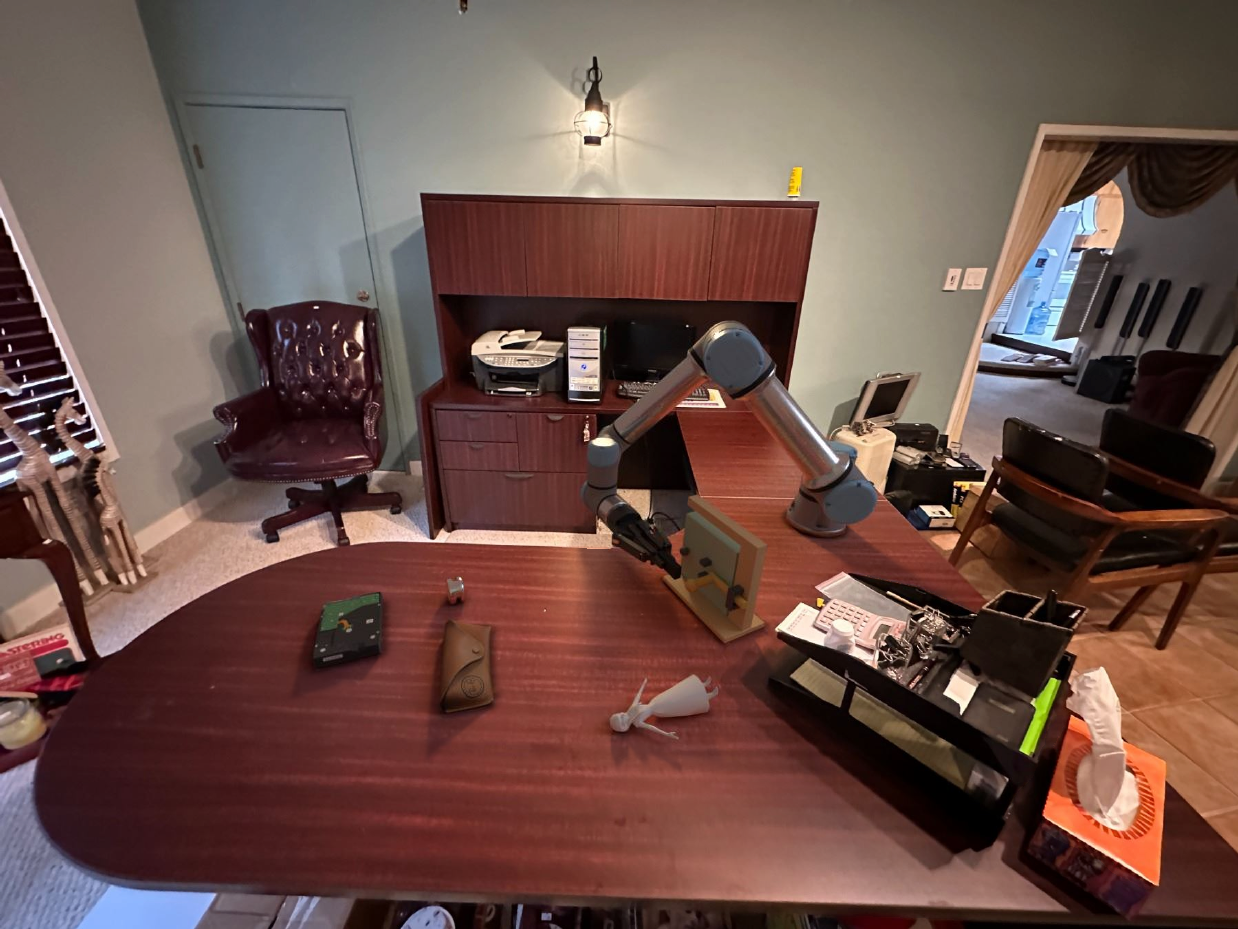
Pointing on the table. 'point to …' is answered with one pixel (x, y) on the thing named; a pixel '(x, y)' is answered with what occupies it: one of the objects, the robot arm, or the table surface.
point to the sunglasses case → (465, 667)
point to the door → (720, 570)
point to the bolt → (711, 578)
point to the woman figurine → (667, 705)
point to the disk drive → (349, 630)
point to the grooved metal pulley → (455, 589)
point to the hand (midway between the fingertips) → (678, 573)
